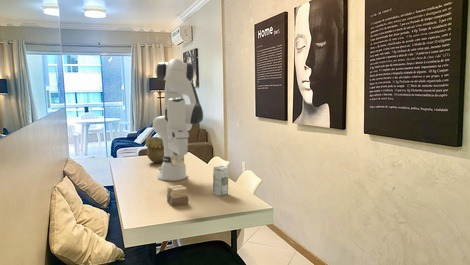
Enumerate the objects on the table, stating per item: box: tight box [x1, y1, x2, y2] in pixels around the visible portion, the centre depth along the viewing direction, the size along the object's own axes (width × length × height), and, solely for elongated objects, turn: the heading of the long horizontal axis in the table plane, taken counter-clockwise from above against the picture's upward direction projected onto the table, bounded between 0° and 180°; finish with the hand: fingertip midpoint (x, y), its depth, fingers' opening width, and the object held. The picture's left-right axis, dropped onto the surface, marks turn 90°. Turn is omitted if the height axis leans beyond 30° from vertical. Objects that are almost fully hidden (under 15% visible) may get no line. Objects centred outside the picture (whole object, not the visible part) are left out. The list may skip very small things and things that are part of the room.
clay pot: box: [145, 136, 164, 164], centre depth 267 cm, size 21×21×20 cm
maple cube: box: [171, 154, 185, 166], centre depth 167 cm, size 5×5×5 cm
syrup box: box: [212, 165, 229, 197], centre depth 185 cm, size 6×6×14 cm
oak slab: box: [166, 184, 188, 199], centre depth 169 cm, size 7×7×4 cm
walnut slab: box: [166, 193, 189, 208], centre depth 170 cm, size 8×8×4 cm
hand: (177, 161), depth 167 cm, fingers closed on maple cube, 5 cm apart
